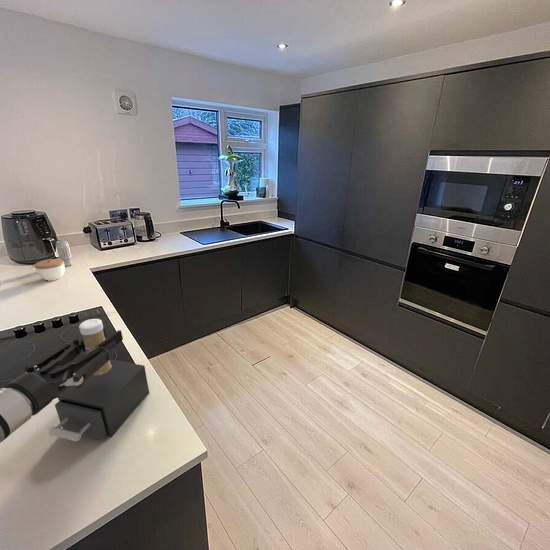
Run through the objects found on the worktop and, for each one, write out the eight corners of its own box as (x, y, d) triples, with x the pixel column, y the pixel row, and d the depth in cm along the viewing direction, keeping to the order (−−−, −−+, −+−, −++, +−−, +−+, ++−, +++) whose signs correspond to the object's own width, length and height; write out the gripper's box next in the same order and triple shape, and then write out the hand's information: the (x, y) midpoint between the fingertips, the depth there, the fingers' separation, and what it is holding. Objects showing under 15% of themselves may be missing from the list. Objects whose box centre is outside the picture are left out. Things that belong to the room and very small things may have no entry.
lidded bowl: (38, 285, 147) (32, 264, 143) (39, 277, 157) (33, 258, 153) (68, 279, 154) (63, 260, 150) (67, 272, 164) (62, 254, 160)
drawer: (88, 457, 63) (80, 431, 60) (45, 445, 65) (36, 420, 62) (141, 397, 79) (136, 374, 76) (105, 389, 81) (100, 367, 78)
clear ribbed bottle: (64, 267, 171) (58, 243, 166) (59, 265, 174) (53, 241, 168) (75, 264, 176) (69, 241, 170) (70, 262, 179) (64, 239, 173)
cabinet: (111, 437, 68) (103, 407, 65) (67, 426, 71) (57, 396, 67) (149, 393, 81) (144, 365, 78) (111, 385, 84) (104, 358, 80)
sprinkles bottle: (86, 375, 69) (73, 327, 64) (99, 363, 74) (87, 317, 69) (104, 377, 69) (93, 328, 64) (116, 364, 73) (106, 318, 68)
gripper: (-12, 408, 55) (87, 340, 77) (62, 427, 52) (144, 350, 73) (-26, 377, 53) (80, 316, 74) (51, 395, 49) (139, 325, 70)
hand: (112, 333), depth 74 cm, fingers closed on sprinkles bottle, 4 cm apart
